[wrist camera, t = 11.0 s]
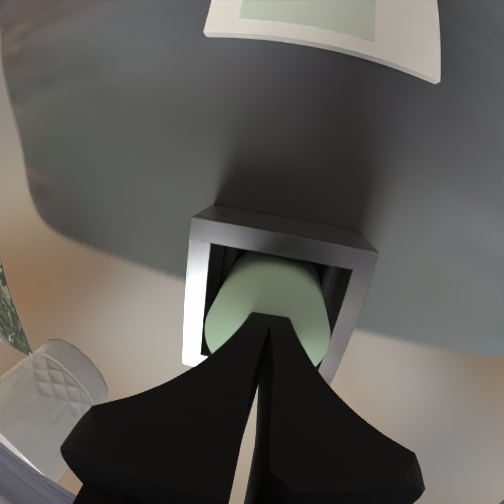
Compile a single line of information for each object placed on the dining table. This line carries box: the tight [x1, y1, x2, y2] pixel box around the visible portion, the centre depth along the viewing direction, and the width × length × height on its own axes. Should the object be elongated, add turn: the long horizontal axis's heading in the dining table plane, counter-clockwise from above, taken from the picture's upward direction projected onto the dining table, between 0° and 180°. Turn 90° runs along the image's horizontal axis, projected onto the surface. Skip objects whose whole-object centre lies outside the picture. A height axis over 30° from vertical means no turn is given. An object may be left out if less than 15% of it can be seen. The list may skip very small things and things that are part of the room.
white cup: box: [0, 339, 107, 485], centre depth 14 cm, size 8×8×10 cm
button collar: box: [183, 205, 379, 386], centre depth 12 cm, size 7×7×3 cm
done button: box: [205, 250, 330, 367], centre depth 11 cm, size 4×4×4 cm
